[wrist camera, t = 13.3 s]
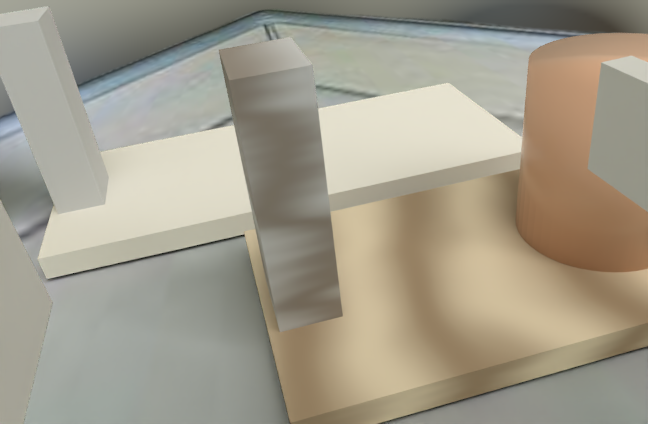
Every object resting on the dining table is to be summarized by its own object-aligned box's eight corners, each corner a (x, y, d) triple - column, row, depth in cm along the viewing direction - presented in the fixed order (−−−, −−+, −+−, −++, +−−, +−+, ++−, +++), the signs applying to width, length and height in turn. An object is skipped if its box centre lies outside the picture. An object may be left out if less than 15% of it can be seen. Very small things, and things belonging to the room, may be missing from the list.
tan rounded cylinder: (612, 175, 35) (639, 24, 30) (720, 249, 28) (777, 69, 23) (489, 204, 34) (497, 51, 29) (571, 288, 27) (600, 107, 22)
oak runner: (710, 144, 40) (770, -74, 32) (941, 261, 28) (1115, -39, 21) (248, 252, 35) (198, 23, 28) (295, 447, 23) (230, 140, 16)
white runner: (448, 99, 51) (449, -70, 44) (534, 168, 40) (555, -46, 32) (73, 174, 46) (6, -1, 39) (46, 279, 35) (-57, 56, 28)
